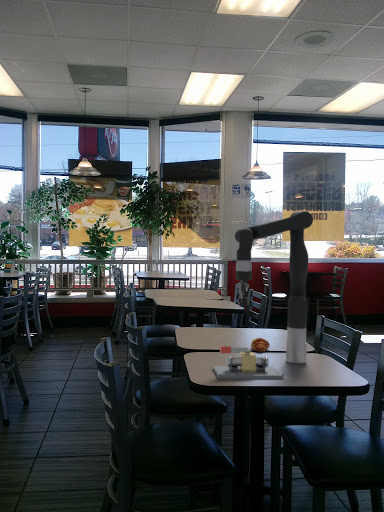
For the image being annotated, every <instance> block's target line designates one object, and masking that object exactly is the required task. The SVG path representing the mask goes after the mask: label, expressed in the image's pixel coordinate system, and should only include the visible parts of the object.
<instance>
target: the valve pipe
mask: <svg viewBox="0 0 384 512" xmlns="http://www.w3.org/2000/svg"><path fill="white" fill-rule="evenodd" d="M238 355H239V356H230V355H227V356H226V366H227V367H229V369H230V371H231V372H238V366H239V369H240V371H241V372H245V373H255V368H256V370H257V371H258V372H265V367H269V357H268V356H266V355H265V356H256V354H255V353H254V352H252V351H251V353H250V354H247V353H243V352H239V354H238Z"/></svg>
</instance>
